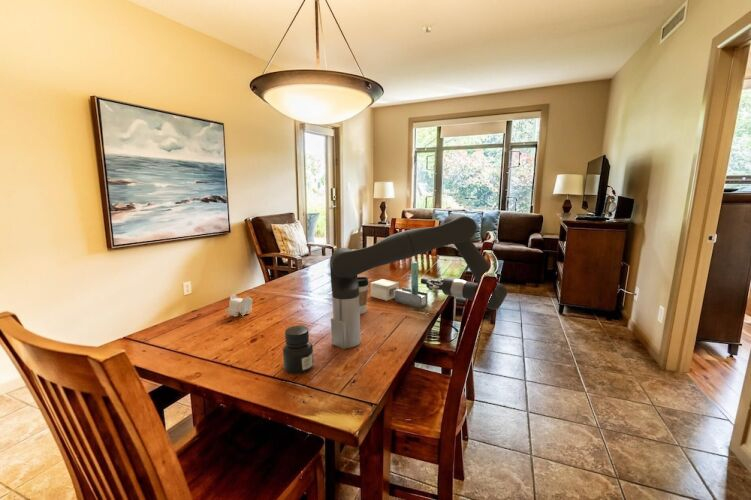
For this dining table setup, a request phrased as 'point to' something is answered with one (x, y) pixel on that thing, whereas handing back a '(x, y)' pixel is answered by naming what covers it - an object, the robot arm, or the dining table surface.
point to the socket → (384, 289)
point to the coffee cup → (362, 293)
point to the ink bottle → (297, 350)
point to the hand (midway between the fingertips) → (421, 280)
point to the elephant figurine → (239, 305)
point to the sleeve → (410, 298)
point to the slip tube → (414, 282)
